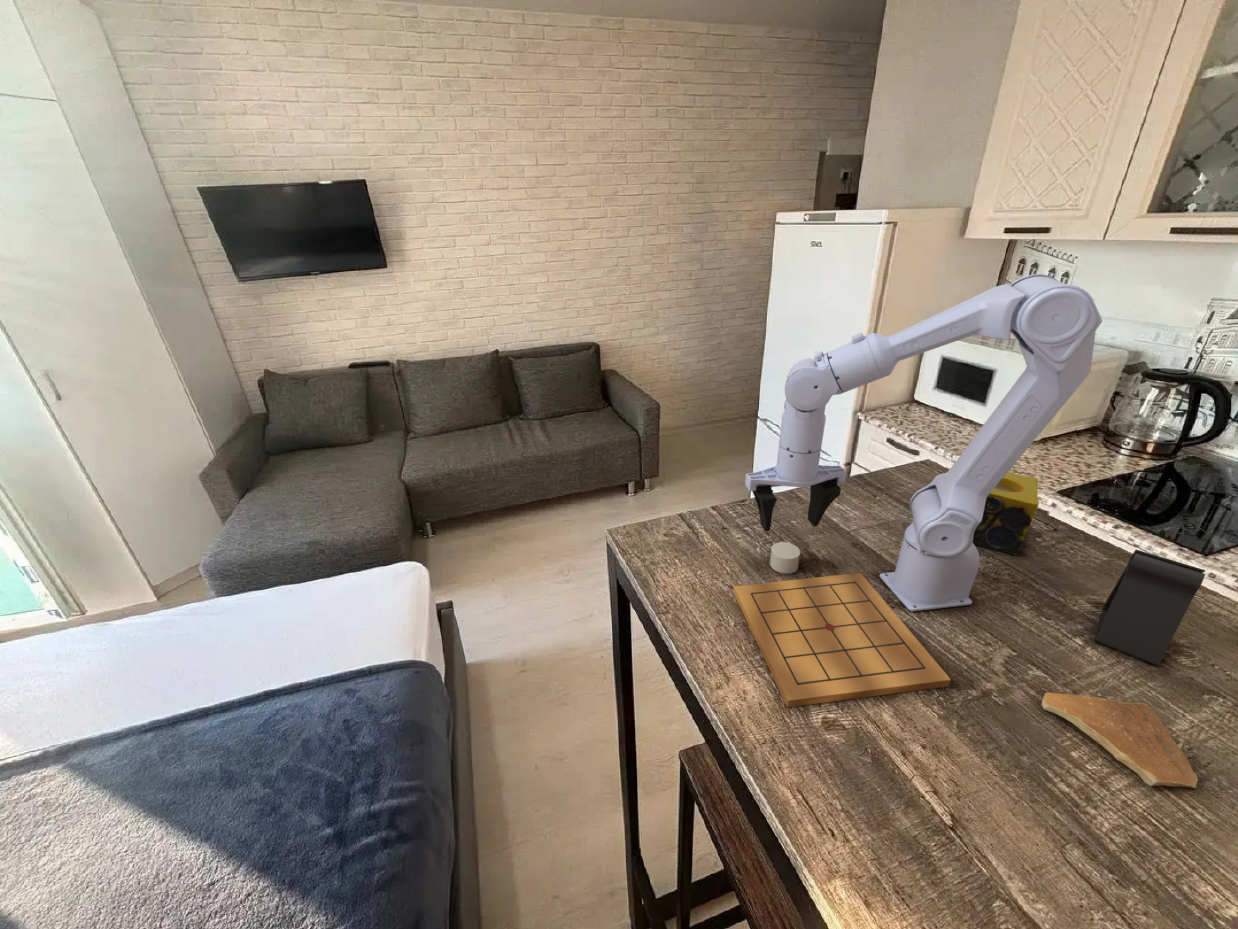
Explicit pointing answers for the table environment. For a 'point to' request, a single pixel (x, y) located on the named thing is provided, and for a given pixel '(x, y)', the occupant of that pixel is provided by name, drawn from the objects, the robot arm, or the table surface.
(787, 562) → the white stone
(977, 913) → the table surface
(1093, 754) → the table surface
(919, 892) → the table surface
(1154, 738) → the pottery shard
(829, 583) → the game board
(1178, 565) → the phone stand
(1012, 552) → the yellow cube with hollow
